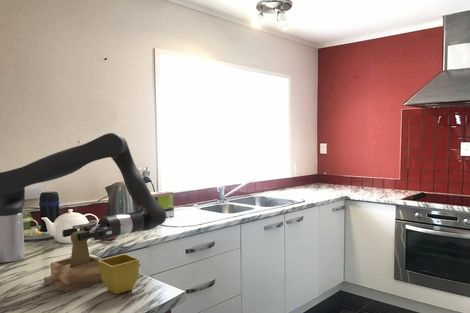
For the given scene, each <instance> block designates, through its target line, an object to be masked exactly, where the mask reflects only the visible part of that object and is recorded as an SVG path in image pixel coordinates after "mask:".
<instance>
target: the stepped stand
mask: <svg viewBox="0 0 470 313" xmlns="http://www.w3.org/2000/svg"><path fill="white" fill-rule="evenodd" d="M89 256H90V263H86V264H83V265H79V266H76V267H72V268H70V265H71V257H68V258H63V259H60V260H56V261H52V262H50V275H49V276H45V277H43V283H44V284H47V285H50V286H52V287H53V288H56V289H58V290H61V291H62V292H64V293H68V294H69V293H70V292H73V291H76V290H79V289H82V288H85V287H89V286H91V285H93V284H97V283H100V282H103V281H102V278H101V273H100V268H99V262H98V261H99V260H102V258H101V259H100V258H98V257H94V256H91V255H89Z"/></svg>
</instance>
